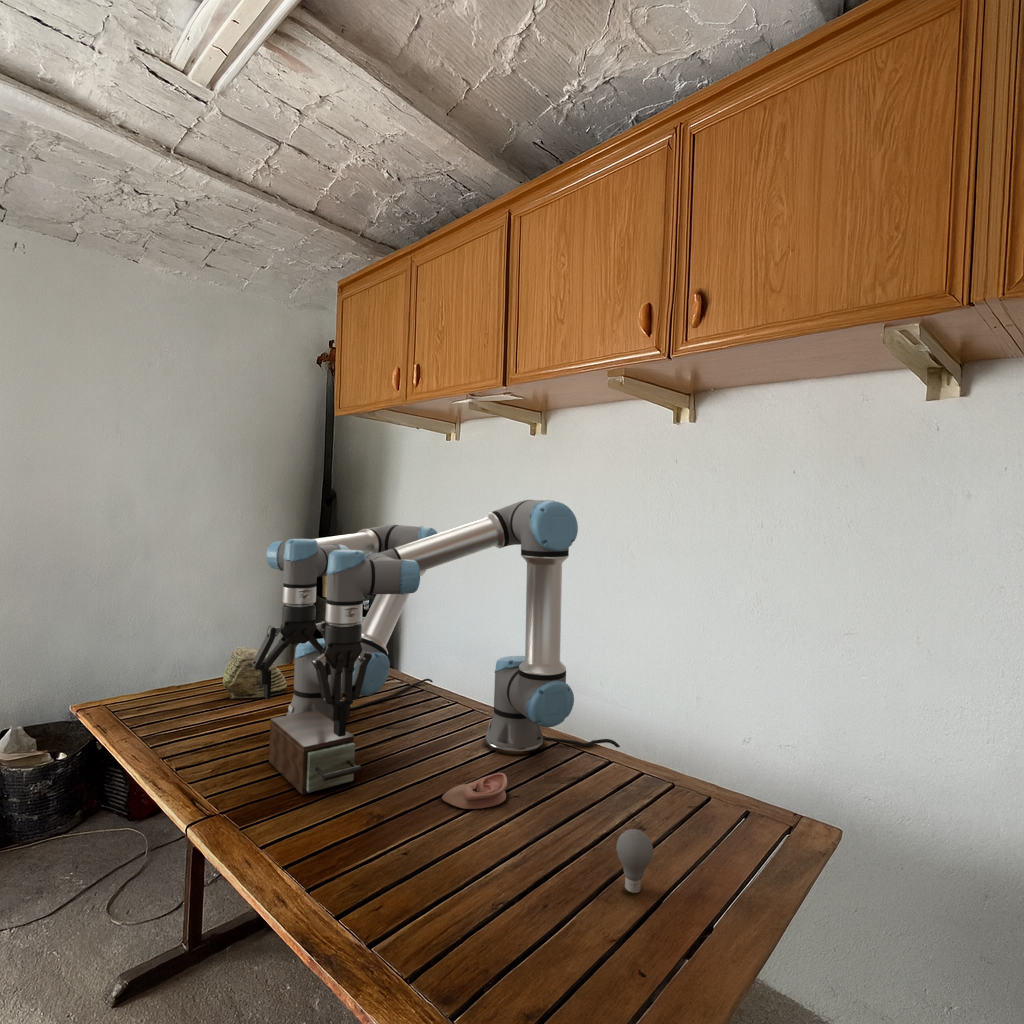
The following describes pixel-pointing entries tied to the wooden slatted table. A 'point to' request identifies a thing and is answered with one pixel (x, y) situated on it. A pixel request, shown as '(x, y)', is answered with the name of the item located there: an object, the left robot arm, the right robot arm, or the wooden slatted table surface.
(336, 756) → the drawer
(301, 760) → the cabinet
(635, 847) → the light bulb
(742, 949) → the wooden slatted table surface
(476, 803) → the anatomical model
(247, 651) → the fossil
